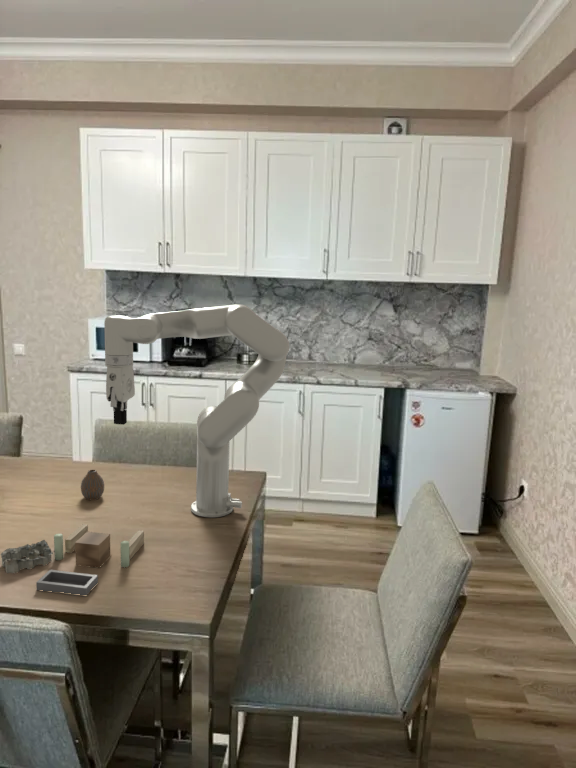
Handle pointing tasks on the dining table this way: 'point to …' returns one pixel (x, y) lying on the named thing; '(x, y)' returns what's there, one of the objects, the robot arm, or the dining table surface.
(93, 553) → the walnut block
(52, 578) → the tray
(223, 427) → the robot arm
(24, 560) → the grey jagged open ring
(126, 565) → the goal posts
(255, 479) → the dining table surface
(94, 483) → the vase
